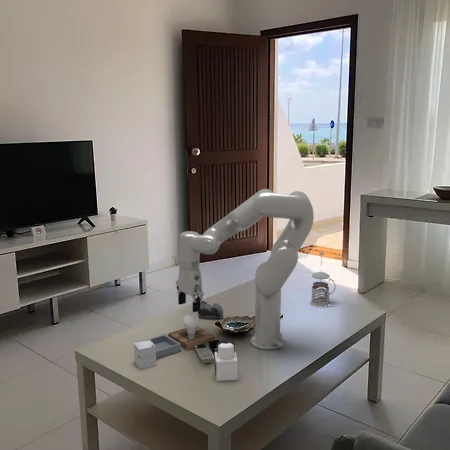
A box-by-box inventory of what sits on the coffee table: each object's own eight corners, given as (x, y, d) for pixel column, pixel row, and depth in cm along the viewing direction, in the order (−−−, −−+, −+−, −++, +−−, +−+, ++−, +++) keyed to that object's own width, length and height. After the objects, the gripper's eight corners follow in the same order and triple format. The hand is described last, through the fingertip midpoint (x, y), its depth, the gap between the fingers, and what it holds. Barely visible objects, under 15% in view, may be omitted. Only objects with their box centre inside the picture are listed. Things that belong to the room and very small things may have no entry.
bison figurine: (222, 321, 214) (226, 311, 223) (222, 305, 212) (226, 296, 221) (195, 319, 216) (200, 310, 225) (194, 304, 214) (199, 295, 224)
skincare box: (134, 362, 177) (133, 342, 175) (150, 358, 180) (149, 339, 178) (140, 369, 172) (139, 349, 170) (156, 365, 175) (156, 345, 173)
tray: (181, 351, 185) (180, 343, 184) (154, 360, 178) (154, 352, 178) (165, 341, 193) (165, 334, 193) (139, 349, 187) (139, 341, 186)
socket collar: (214, 341, 193) (214, 335, 193) (186, 350, 185) (186, 344, 185) (195, 330, 203) (195, 325, 203) (168, 339, 195) (168, 333, 195)
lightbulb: (197, 344, 191) (196, 317, 188) (181, 343, 192) (180, 316, 190) (201, 337, 197) (201, 311, 194) (185, 336, 198) (185, 310, 196)
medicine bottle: (214, 370, 170) (214, 337, 168) (235, 370, 171) (235, 337, 168) (216, 381, 163) (215, 347, 161) (237, 380, 164) (237, 346, 162)
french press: (308, 300, 238) (310, 248, 233) (333, 301, 236) (335, 249, 231) (309, 307, 228) (310, 254, 223) (335, 308, 227) (337, 255, 222)
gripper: (211, 268, 184) (210, 312, 187) (185, 257, 197) (184, 299, 200) (194, 271, 179) (193, 316, 183) (168, 260, 192) (168, 302, 196)
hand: (189, 307), depth 192 cm, fingers open, 9 cm apart
